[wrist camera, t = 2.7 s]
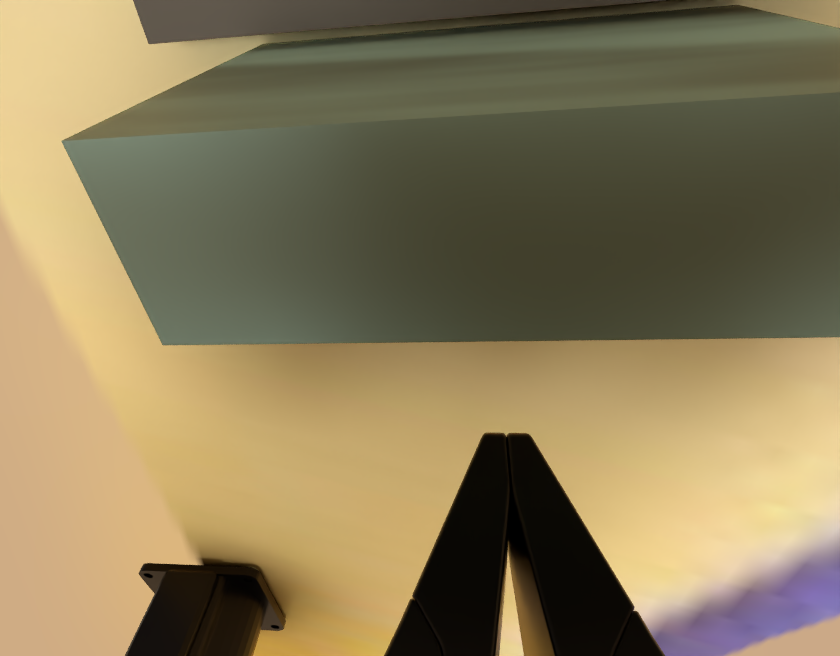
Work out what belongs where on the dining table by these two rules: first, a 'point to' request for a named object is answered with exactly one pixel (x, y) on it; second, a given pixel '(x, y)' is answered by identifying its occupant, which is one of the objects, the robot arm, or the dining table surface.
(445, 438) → the dining table surface
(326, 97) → the grey-green rectangular block
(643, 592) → the dining table surface
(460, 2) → the slate board
